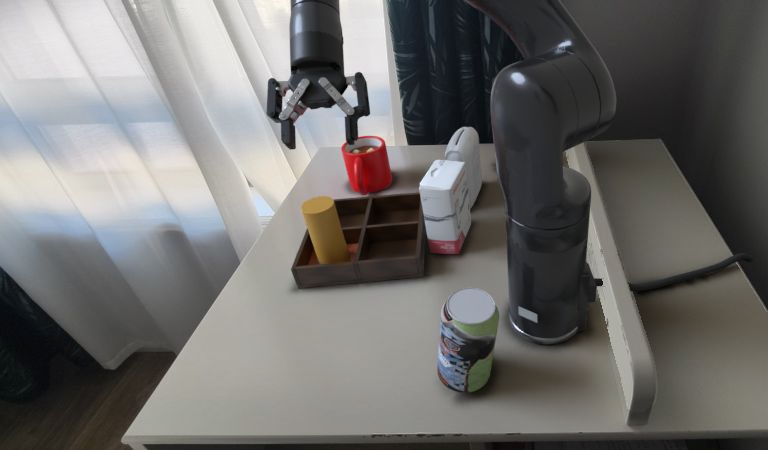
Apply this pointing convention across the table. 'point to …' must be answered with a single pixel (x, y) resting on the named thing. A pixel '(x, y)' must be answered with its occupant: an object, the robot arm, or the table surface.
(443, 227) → the ink box
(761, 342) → the table surface
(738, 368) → the table surface
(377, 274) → the grid
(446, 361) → the beverage can
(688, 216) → the table surface
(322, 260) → the yellow cylinder
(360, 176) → the mug
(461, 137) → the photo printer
